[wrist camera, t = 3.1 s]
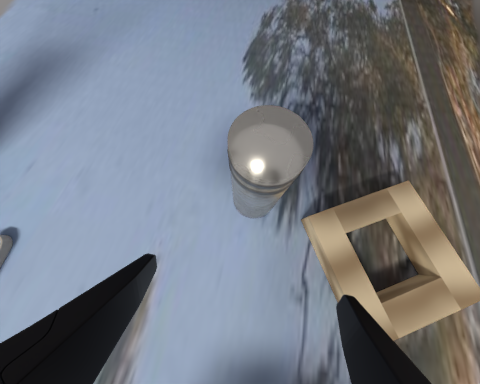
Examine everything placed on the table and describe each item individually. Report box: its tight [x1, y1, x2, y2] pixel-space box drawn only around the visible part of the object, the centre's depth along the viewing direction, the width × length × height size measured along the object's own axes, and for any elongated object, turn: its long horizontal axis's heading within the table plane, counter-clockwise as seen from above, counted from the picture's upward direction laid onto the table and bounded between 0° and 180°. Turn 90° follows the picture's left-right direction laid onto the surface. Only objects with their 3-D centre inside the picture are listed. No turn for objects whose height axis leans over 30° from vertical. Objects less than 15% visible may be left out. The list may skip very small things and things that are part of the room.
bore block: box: [301, 180, 480, 341], centre depth 21 cm, size 13×13×2 cm
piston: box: [228, 105, 313, 218], centre depth 18 cm, size 5×5×13 cm
